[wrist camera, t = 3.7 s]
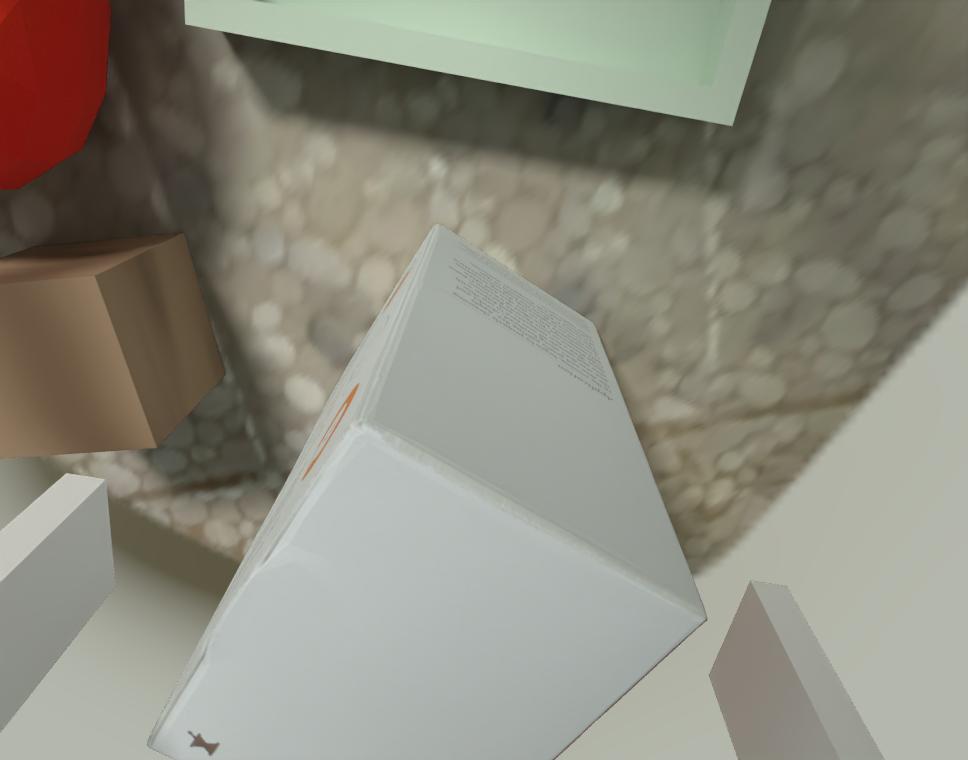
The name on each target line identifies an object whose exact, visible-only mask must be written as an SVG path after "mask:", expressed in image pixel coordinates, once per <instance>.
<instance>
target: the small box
mask: <svg viewBox="0 0 968 760" xmlns="http://www.w3.org/2000/svg"><path fill="white" fill-rule="evenodd" d="M706 621H707V616H706V612H705V609H704V606H703V603H702V600H701V598H700V595H699V593H698V590H697V587H696V585H695V582H694V580H693V577H692V575H691V572H690V570H689V567H688V565H687V562H686V559H685V557H684V554H683V551H682V549H681V546H680V544H679V541H678V538H677V536H676V533H675V531H674V528H673V525H672V523H671V520H670V517H669V515H668V512H667V510H666V507H665V504H664V502H663V499H662V497H661V494H660V492H659V489H658V487H657V484H656V482H655V479H654V476H653V474H652V472H651V469H650V467H649V464H648V461H647V458H646V455H645V453H644V451H643V448H642V446H641V443H640V440H639V438H638V435H637V433H636V430H635V428H634V425H633V423H632V420H631V417H630V415H629V412H628V409H627V406H626V404H625V401H624V399H623V396H622V393H621V391H620V388H619V385H618V383H617V380H616V378H615V375H614V373H613V370H612V368H611V365H610V363H609V360H608V358H607V355H606V353H605V350H604V348H603V345H602V342H601V340H600V337H599V334H598V332H597V329H596V327H595V325H594V324H593V323H592V322H591V321H589V320H588V319H586V318H585V317H583V316H582V315H580V314H578V313H577V312H575V311H574V310H572V309H571V308H569V307H568V306H566V305H564V304H563V303H561V302H560V301H558V300H557V299H555V298H554V297H552V296H551V295H549V294H547V293H546V292H544V291H543V290H541V289H540V288H538V287H537V286H535V285H534V284H532V283H530V282H529V281H527V280H526V279H524V278H523V277H521V276H520V275H518V274H517V273H515V272H513V271H512V270H510V269H509V268H507V267H506V266H504V265H503V264H501V263H499V262H498V261H496V260H495V259H493V258H492V257H490V256H489V255H487V254H486V253H484V252H483V251H481V250H480V249H478V248H477V247H475V246H473V245H472V244H470V243H469V242H467V241H466V240H464V239H463V238H461V237H460V236H458V235H457V234H455V233H454V232H452V231H450V230H449V229H447V228H446V227H444V226H442V225H440V224H435V225H434V226H433V228H432V229H431V230H430V232H429V234H428V235H427V237H426V238H425V240H424V241H423V243H422V245H421V246H420V248H419V249H418V251H417V253H416V254H415V256H414V257H413V259H412V261H411V262H410V264H409V266H408V267H407V269H406V270H405V272H404V274H403V275H402V277H401V279H400V280H399V282H398V283H397V285H396V287H395V288H394V290H393V292H392V293H391V295H390V296H389V298H388V300H387V301H386V303H385V305H384V306H383V308H382V310H381V311H380V313H379V315H378V316H377V318H376V320H375V321H374V323H373V324H372V326H371V328H370V329H369V331H368V333H367V334H366V336H365V338H364V339H363V341H362V343H361V344H360V346H359V348H358V349H357V351H356V353H355V354H354V356H353V358H352V359H351V361H350V363H349V364H348V366H347V368H346V369H345V371H344V373H343V375H342V376H341V378H340V380H339V382H338V383H337V385H336V387H335V388H334V390H333V392H332V394H331V396H330V397H329V399H328V401H327V403H326V405H325V407H324V409H323V411H322V413H321V415H320V417H319V419H318V421H317V423H316V425H315V427H314V428H313V430H312V432H311V434H310V436H309V438H308V440H307V442H306V444H305V446H304V448H303V450H302V452H301V454H300V456H299V458H298V460H297V462H296V464H295V466H294V468H293V469H292V471H291V473H290V475H289V477H288V479H287V481H286V482H285V484H284V486H283V488H282V490H281V492H280V494H279V495H278V497H277V499H276V501H275V503H274V505H273V506H272V508H271V510H270V512H269V514H268V515H267V517H266V519H265V521H264V523H263V525H262V526H261V528H260V530H259V532H258V534H257V535H256V537H255V539H254V541H253V543H252V545H251V546H250V548H249V550H248V552H247V554H246V556H245V557H244V559H243V561H242V563H241V565H240V567H239V568H238V570H237V572H236V574H235V576H234V578H233V580H232V581H231V583H230V585H229V587H228V589H227V591H226V593H225V595H224V596H223V598H222V600H221V602H220V604H219V606H218V608H217V610H216V612H215V613H214V615H213V617H212V619H211V621H210V623H209V624H208V627H207V628H206V630H205V632H204V634H203V636H202V638H201V640H200V641H199V643H198V645H197V647H196V649H195V651H194V653H193V655H192V656H191V658H190V660H189V662H188V664H187V666H186V667H185V669H184V671H183V673H182V675H181V677H180V679H179V681H178V682H177V684H176V686H175V688H174V690H173V692H172V694H171V696H170V698H169V700H168V702H167V704H166V705H165V707H164V710H163V711H162V713H161V715H160V717H159V719H158V721H157V723H156V725H155V727H154V728H153V730H152V733H151V735H150V736H149V739H148V742H147V746H148V747H149V748H151V749H153V750H155V751H157V752H159V753H161V754H163V755H165V756H168V757H170V758H172V759H174V760H554V759H556V758H557V757H558V756H559V755H560V754H561V753H562V752H563V751H564V750H566V749H567V748H568V747H569V746H570V745H571V744H572V743H573V742H574V741H575V740H576V739H577V738H579V737H580V736H581V735H582V733H584V732H585V731H586V730H587V729H588V728H589V727H590V726H591V725H592V724H593V723H594V722H595V721H596V720H597V719H599V718H600V717H601V716H602V715H603V714H604V713H605V712H607V711H608V710H609V709H610V708H611V707H612V706H613V705H614V704H615V703H616V702H617V701H619V700H620V699H621V698H622V697H623V696H624V695H625V694H626V693H627V692H628V691H630V690H631V689H632V688H633V687H634V686H635V685H636V684H637V683H638V682H639V681H640V680H641V679H642V678H644V676H646V675H647V674H648V673H649V672H650V671H651V670H652V669H653V668H654V667H656V666H657V665H658V664H659V663H660V662H661V661H662V660H663V659H664V658H665V657H667V656H668V655H669V654H670V653H671V652H672V651H673V650H674V649H675V648H676V647H677V646H678V645H680V644H681V642H683V641H684V640H685V639H686V638H687V637H688V636H689V635H691V634H692V633H693V632H694V631H695V630H696V629H697V628H698V627H699V626H701V625H702V624H703V623H704V622H706Z"/></svg>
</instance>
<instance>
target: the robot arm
mask: <svg viewBox="0 0 968 760" xmlns="http://www.w3.org/2000/svg"><path fill="white" fill-rule="evenodd" d="M114 588H115V576H114V564H113V554H112V542H111V531H110V521H109V509H108V498H107V487H106V479H100V478H93V477H87V476H81V475H74V474H68V473H66V474H65V475H64V476H63V477H62V478H61V479H59V480H58V481H57V482H56V483H55V484H54V485H53V486H51V487H50V488H49V489H48V490H47V491H46V492H44V493H43V494H42V495H41V496H40V497H39V498H38V499H36V500H35V501H34V502H33V503H32V504H31V505H30V506H28V507H27V508H26V509H25V510H24V511H23V512H22V513H20V514H19V515H18V516H17V517H16V518H15V519H14V520H12V521H11V522H10V523H9V524H8V525H7V526H6V527H5V528H3V529H2V530H1V531H0V733H1V731H2V730H3V729H4V727H5V726H6V725H7V724H8V722H9V721H10V720H11V719H12V717H13V716H14V715H15V713H16V712H17V711H18V710H19V708H20V707H21V706H22V705H23V703H24V702H25V701H26V700H27V698H28V697H29V696H30V694H31V693H32V692H33V690H34V689H35V688H36V687H37V685H38V684H39V683H40V682H41V680H42V679H43V678H44V677H45V675H46V674H47V673H48V672H49V670H50V669H51V668H52V666H53V665H54V664H55V663H56V661H57V660H58V659H59V658H60V656H61V655H62V654H63V652H64V651H65V650H66V649H67V647H68V646H69V645H70V644H71V642H72V641H73V640H74V638H75V637H76V636H77V635H78V633H79V632H80V631H81V629H82V628H83V627H84V626H85V624H86V623H87V622H88V621H89V619H90V618H91V617H92V616H93V614H94V613H95V612H96V610H97V609H98V608H99V607H100V605H101V604H102V603H103V602H104V600H105V599H106V598H107V597H108V595H109V594H110V593H111V591H112V590H113V589H114ZM709 677H710V680H711V682H712V686H713V688H714V691H715V694H716V697H717V700H718V703H719V705H720V709H721V711H722V714H723V717H724V720H725V723H726V726H727V729H728V732H729V735H730V737H731V740H732V743H733V746H734V749H735V752H736V755H737V757H738V760H885V759H884V757H883V756H882V754H881V752H880V750H879V748H878V747H877V745H876V743H875V741H874V740H873V738H872V736H871V734H870V733H869V731H868V729H867V727H866V725H865V724H864V722H863V720H862V718H861V717H860V715H859V713H858V711H857V710H856V708H855V706H854V704H853V702H852V701H851V699H850V697H849V695H848V694H847V692H846V690H845V688H844V687H843V685H842V683H841V681H840V680H839V678H838V676H837V674H836V672H835V671H834V669H833V667H832V665H831V664H830V662H829V660H828V658H827V657H826V655H825V653H824V651H823V649H822V648H821V646H820V644H819V643H818V641H817V639H816V637H815V635H814V634H813V632H812V630H811V628H810V626H809V625H808V623H807V621H806V619H805V618H804V616H803V614H802V613H801V611H800V609H799V607H798V605H797V604H796V602H795V600H794V598H793V597H792V595H791V593H790V591H789V589H788V588H787V586H783V585H776V584H771V583H764V582H757V581H750V583H749V585H748V587H747V590H746V592H745V594H744V597H743V599H742V601H741V604H740V606H739V608H738V610H737V613H736V615H735V617H734V619H733V622H732V624H731V626H730V628H729V631H728V633H727V635H726V638H725V640H724V642H723V644H722V647H721V649H720V651H719V654H718V656H717V658H716V660H715V663H714V665H713V667H712V670H711V672H710V674H709Z"/></svg>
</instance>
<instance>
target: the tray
mask: <svg viewBox="0 0 968 760" xmlns="http://www.w3.org/2000/svg"><path fill="white" fill-rule="evenodd" d="M771 1H772V0H184V2H185V24H186V25H191V26H197V27H202V28H207V29H213V30H218V31H224V32H229V33H234V34H240V35H245V36H250V37H256V38H261V39H267V40H272V41H277V42H283V43H288V44H293V45H299V46H304V47H310V48H315V49H320V50H326V51H331V52H336V53H342V54H347V55H353V56H358V57H363V58H369V59H374V60H379V61H385V62H390V63H395V64H401V65H406V66H412V67H417V68H422V69H428V70H433V71H438V72H444V73H449V74H455V75H460V76H465V77H471V78H476V79H481V80H487V81H492V82H498V83H503V84H508V85H514V86H519V87H524V88H530V89H535V90H541V91H546V92H551V93H557V94H562V95H567V96H573V97H578V98H584V99H589V100H594V101H600V102H605V103H610V104H616V105H621V106H627V107H632V108H637V109H643V110H648V111H653V112H659V113H664V114H670V115H675V116H680V117H686V118H691V119H696V120H702V121H707V122H713V123H718V124H723V125H729V126H732V125H733V122H734V119H735V116H736V112H737V109H738V106H739V103H740V100H741V96H742V93H743V90H744V87H745V84H746V80H747V77H748V74H749V71H750V68H751V65H752V61H753V58H754V55H755V52H756V49H757V45H758V42H759V39H760V36H761V33H762V29H763V26H764V23H765V20H766V17H767V13H768V10H769V7H770V4H771Z"/></svg>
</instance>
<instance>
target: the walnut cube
mask: <svg viewBox="0 0 968 760" xmlns="http://www.w3.org/2000/svg"><path fill="white" fill-rule="evenodd" d="M225 375H226V374H225V371H224V367H223V364H222V360H221V357H220V353H219V350H218V347H217V343H216V340H215V336H214V333H213V329H212V326H211V323H210V319H209V316H208V312H207V309H206V306H205V302H204V299H203V295H202V292H201V288H200V285H199V282H198V278H197V275H196V271H195V268H194V264H193V261H192V258H191V254H190V251H189V247H188V244H187V240H186V237H185V234H184V233H173V234H162V235H151V236H140V237H129V238H118V239H107V240H96V241H85V242H74V243H63V244H52V245H41V246H34V247H31V248H28V249H25V250H23V251H20V252H17V253H14V254H11V255H9V256H6V257H3V258H0V459H1V458H14V457H15V458H16V457H30V456H45V455H60V454H75V453H90V452H105V451H119V450H134V449H149V448H157V447H158V446H159V445H160V444H161V443H162V442H163V441H164V440H165V439H166V438H167V437H168V436H169V435H170V433H171V432H172V431H173V430H174V429H175V428H176V427H177V426H178V425H179V424H180V423H181V422H182V421H183V420H184V419H185V417H186V416H187V415H188V414H189V413H190V412H191V411H192V410H193V409H194V408H195V407H196V406H197V405H198V404H199V403H200V401H201V400H202V399H203V398H204V397H205V396H206V395H207V394H208V393H209V392H210V391H211V390H212V389H213V388H214V387H215V386H216V384H217V383H218V382H219V381H220V380H221V379H222V378H223V377H224V376H225Z"/></svg>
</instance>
